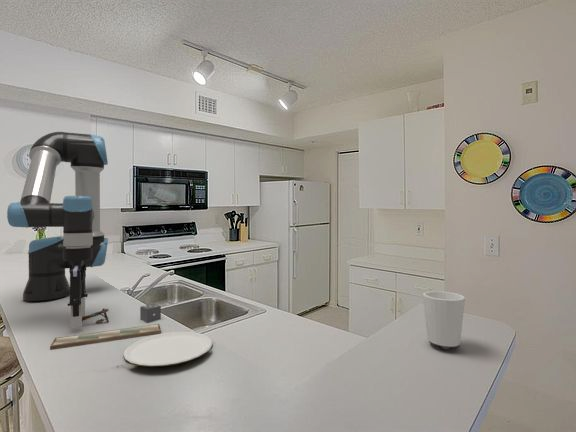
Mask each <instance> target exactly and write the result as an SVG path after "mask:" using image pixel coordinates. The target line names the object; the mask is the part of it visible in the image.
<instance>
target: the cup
mask: <svg viewBox="0 0 576 432" xmlns="http://www.w3.org/2000/svg"><path fill="white" fill-rule="evenodd" d="M422 299H423V300H422V301H423V308H424V317H425V318H424V319H425V328H426V337H427V340H428V343H429V344H430V346H433V347H436V346H439V347H440V348H441V349H443V350H449V348H452V349H459V348H460V346H461V339H462V332H463V331H462V330H463V320H464V310H465V301H466V297H465V296H464V295H462V294H460V293H456V292H452V291H451V292H450V291H442V290H441V291H440V290H439V291H438V290H432V291H426V292H423V293H422Z"/></svg>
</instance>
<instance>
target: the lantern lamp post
mask: <svg viewBox="0 0 576 432" xmlns="http://www.w3.org/2000/svg"><path fill="white" fill-rule="evenodd" d="M108 312H109V308H102V310H100V311H97V312H94V313H91V314H88V315H85V316H84V317H82V322H84V321H86V320H88V319H92V318H96V317H98V316H99V315H100V316H102V317H103V318H101V319H97V320H96V321H95V323H96V324H100V323H101V324H102V323H103V322H105V321H106V323H109V316H108V315H107V313H108Z"/></svg>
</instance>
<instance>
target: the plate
mask: <svg viewBox="0 0 576 432" xmlns="http://www.w3.org/2000/svg"><path fill="white" fill-rule="evenodd" d="M212 346H213V340H212V339H211V337H209V336H208V335H206V334H204V333H200V332H192V331H173V332H172V331H171V332H164V333H160V334H153V335H149V336H147V337H144V338H142V339H138V340H136V341H135V342H133V343H132V344H130V345H128V347H127V348H126V349H125V350H124V352H123V357H124V360H125V361H126V362H128V363H129V364H131V365H134V366H139V367H147V368H155V367H156V368H158V367H168V366H175V365H181V364H183V363H188V362H191V361H194V360H196V359H198V358H200V357H202V356H203V355H206V354H207V353H208V352H209V351H210V350H211V349H212Z"/></svg>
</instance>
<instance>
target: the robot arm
mask: <svg viewBox="0 0 576 432" xmlns="http://www.w3.org/2000/svg"><path fill="white" fill-rule="evenodd" d="M28 156H29V160H30V164H29V167H28V170H27V174H26V178H25V182H24V185H23V190H22V193H21V197H20V199H19V201H18V202H11V203H10V204H8V207H7V212H6V213H7V214H6V219H7V222H8V224H9V225H10V226H11V227H13V228H27V229H28V228H48V227H51V228H53V227H55V228H63V229H62V230H63V231H62V234H63V235H60V236H51V237H45V238H44V237H43V238H39V239H33V240H31V241H30V242H29V244H28V252H27V254H28V279H27V281H26V285H25V288H24V289H23V293H22V300H24V301H27V302H28V301H29V302H38V301H39V302H40V301H48V300H55V299H60V298H64V297H67V296H69V302H68V303H67V307H70V329H72V328H73V329H74V328H82V327H83V321H82V317H84V316H86V298H87V297H88V296H89V295H88V293H87V291H86V276H87V275H86V273H87V268H93V267H94V268H95V267H101V266H103V265H105V263H106V258H107V257H106V256H107V249H108V242H109V239H108V238H106V237H105V233H104V232H102V231H101V177H100V176H101V172H103V171H104V169H105V166H107V165H108V157H107V156H108V155H107V149H106V143H105V139H104V137H103V136H101V135H96V134H88V133H87V134H86V133H77V132H66V131H54V132H49V133H48V134H45V135H42V136H41V137H40V138H38V139H37V140H36V141H35V142H34V143H33V144H32V145H31V147H30V150H29V154H28ZM62 162H63V163H70V168H71V169H72V170H73V171H74V176H75V177H74V180H75V181H74V182H75V184H74V186H75V190H74V191H75V192H74V193H75V195H65V196H64V197H63V200H62V202H61V203H57V202H56V203H54V202H53V203H52V202H51V199H52V193H53V187H54V182H55V178H56V172H57V166H59V165H60V164H61V163H62ZM66 269H68V270H69V281H68V278H67V277H66Z"/></svg>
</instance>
